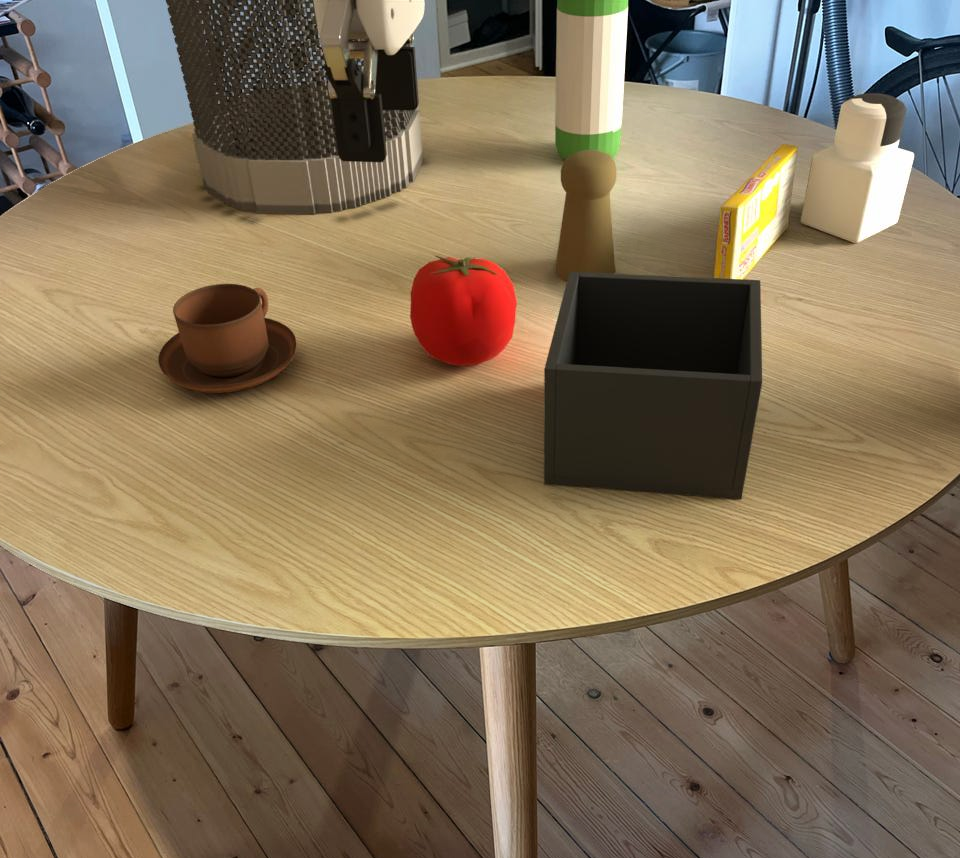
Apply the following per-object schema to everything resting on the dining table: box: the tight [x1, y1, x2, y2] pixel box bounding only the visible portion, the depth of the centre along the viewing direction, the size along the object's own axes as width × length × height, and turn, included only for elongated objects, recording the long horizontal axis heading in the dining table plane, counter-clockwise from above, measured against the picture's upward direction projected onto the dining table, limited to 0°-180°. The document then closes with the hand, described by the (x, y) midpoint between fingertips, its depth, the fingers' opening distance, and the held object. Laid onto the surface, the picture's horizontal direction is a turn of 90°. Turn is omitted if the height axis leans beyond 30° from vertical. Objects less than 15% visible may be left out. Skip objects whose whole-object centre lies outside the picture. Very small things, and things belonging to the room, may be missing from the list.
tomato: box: [409, 255, 518, 367], centre depth 88 cm, size 9×10×8 cm
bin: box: [543, 272, 763, 500], centre depth 77 cm, size 15×15×10 cm
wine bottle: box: [554, 0, 629, 160], centre depth 112 cm, size 8×8×30 cm
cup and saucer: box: [157, 283, 297, 394], centre depth 88 cm, size 12×12×6 cm
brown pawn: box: [554, 150, 618, 282], centre depth 97 cm, size 6×6×11 cm
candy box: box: [713, 143, 799, 279], centre depth 99 cm, size 16×2×8 cm, turn 149°
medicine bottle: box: [800, 92, 915, 244], centre depth 102 cm, size 7×7×12 cm
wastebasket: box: [165, 0, 424, 215], centre depth 112 cm, size 25×25×30 cm
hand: (380, 133), depth 71 cm, fingers open, 9 cm apart
